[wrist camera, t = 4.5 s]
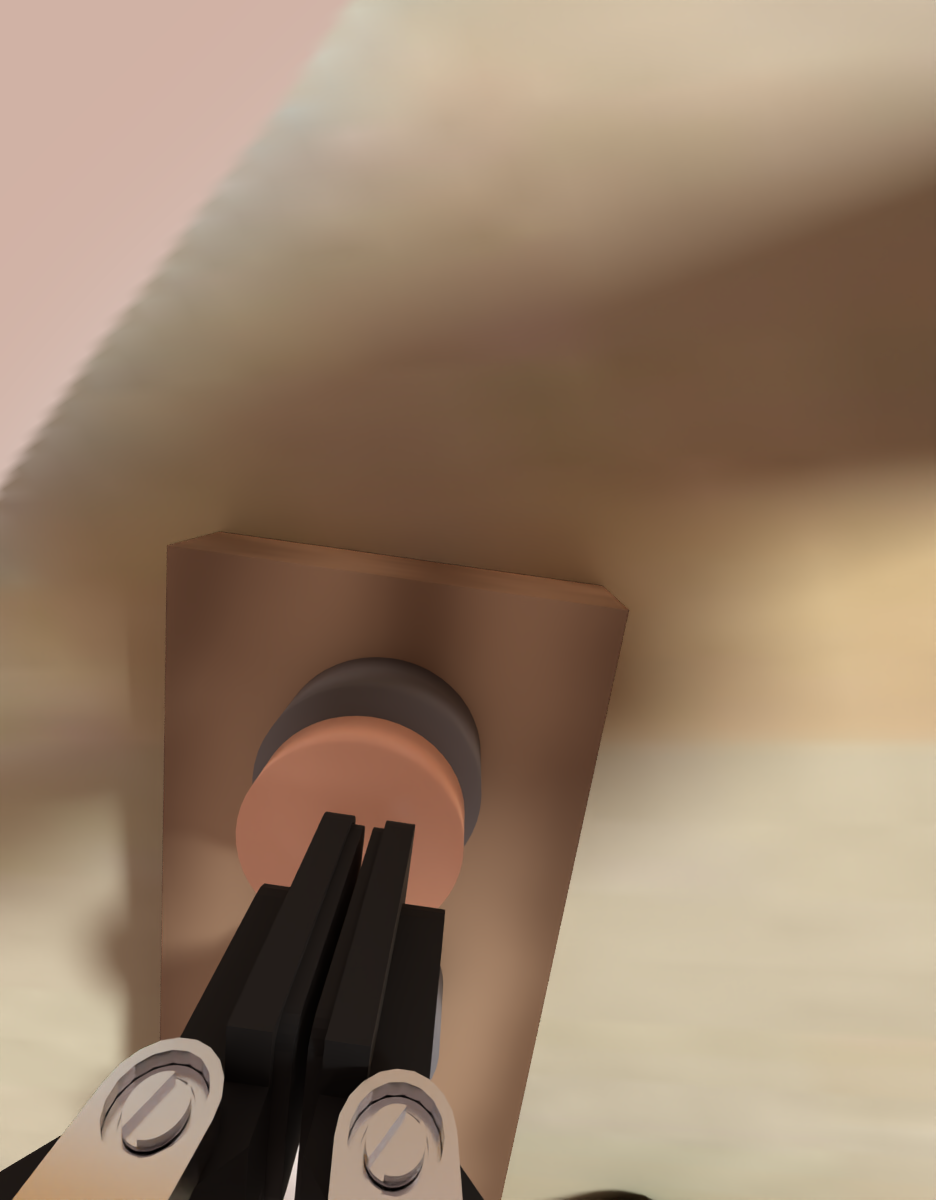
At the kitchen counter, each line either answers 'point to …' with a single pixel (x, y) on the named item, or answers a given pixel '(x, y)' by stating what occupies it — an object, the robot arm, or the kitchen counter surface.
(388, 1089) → the robot arm
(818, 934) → the kitchen counter surface
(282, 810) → the terracotta button
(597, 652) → the button board
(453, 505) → the kitchen counter surface
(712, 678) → the kitchen counter surface
